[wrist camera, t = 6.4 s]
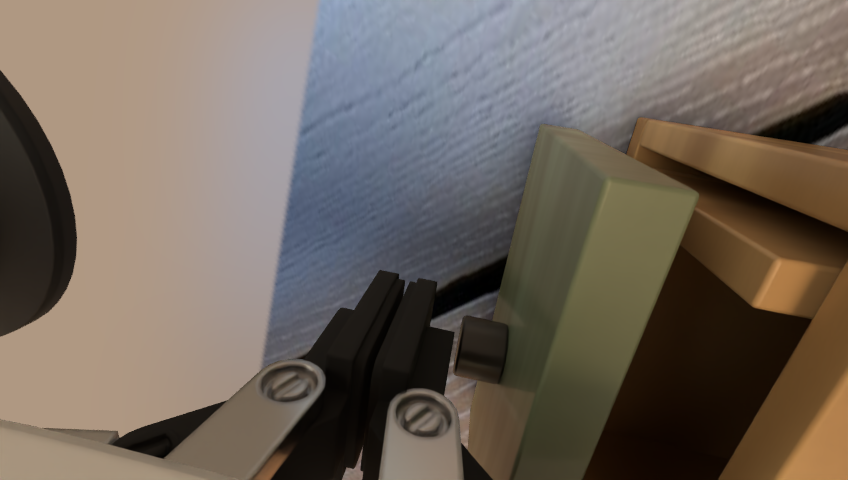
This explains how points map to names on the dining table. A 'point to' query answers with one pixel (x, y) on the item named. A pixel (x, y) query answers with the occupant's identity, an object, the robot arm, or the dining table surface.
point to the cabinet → (832, 324)
